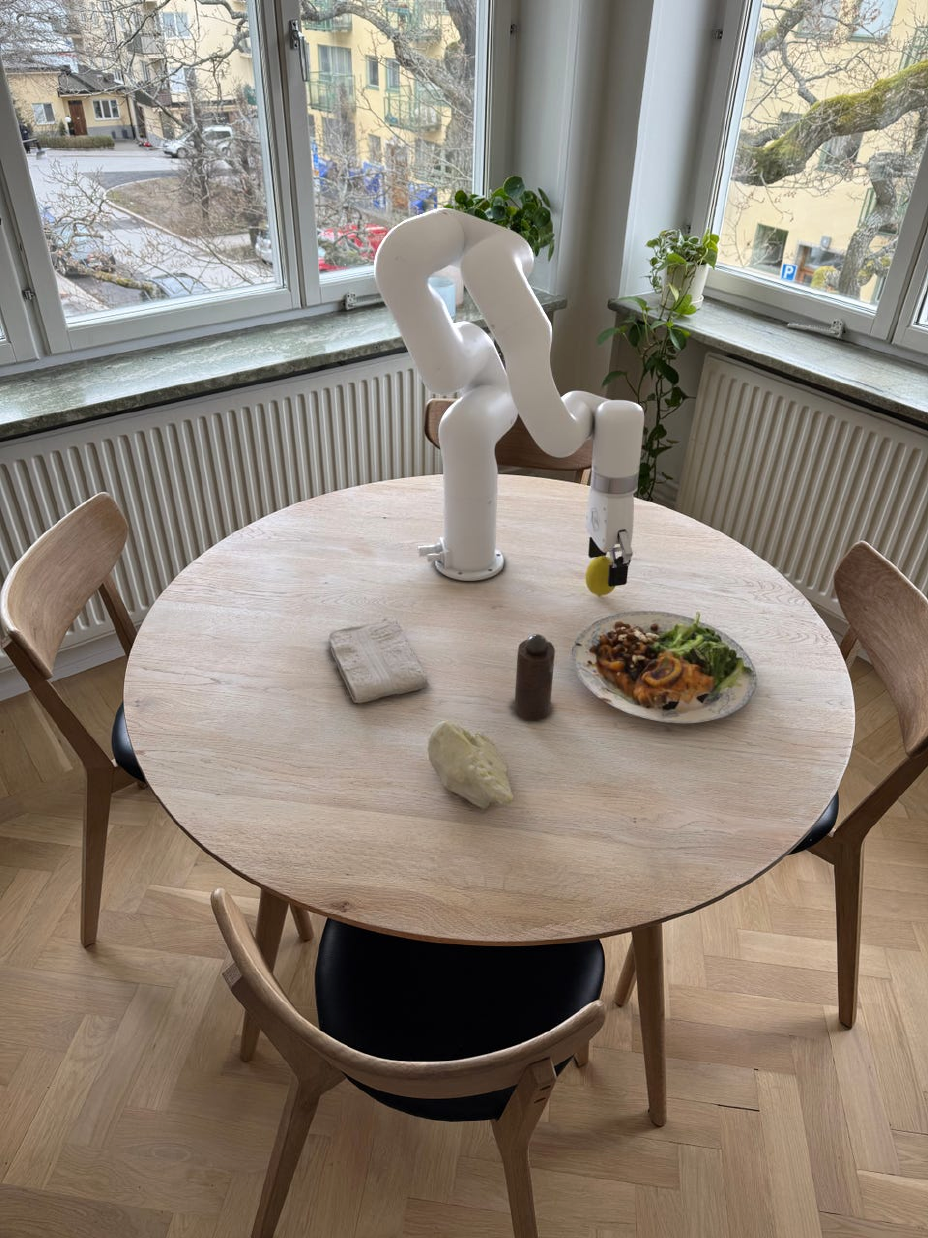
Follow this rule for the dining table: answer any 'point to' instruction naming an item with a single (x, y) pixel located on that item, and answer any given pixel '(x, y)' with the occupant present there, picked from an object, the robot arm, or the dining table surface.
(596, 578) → the lemon
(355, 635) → the washcloth
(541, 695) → the pepper mill
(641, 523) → the dining table surface
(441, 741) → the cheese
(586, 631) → the plate of food
